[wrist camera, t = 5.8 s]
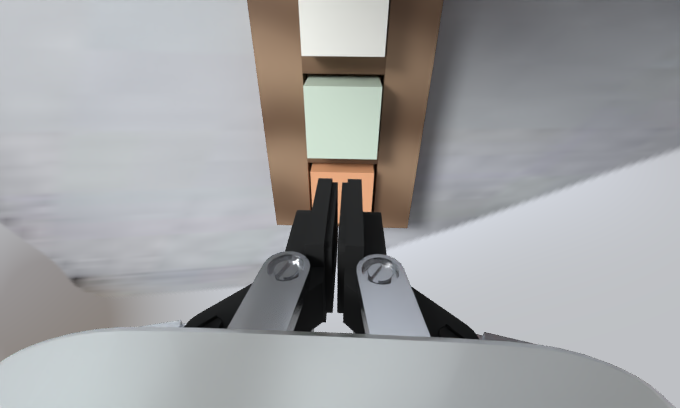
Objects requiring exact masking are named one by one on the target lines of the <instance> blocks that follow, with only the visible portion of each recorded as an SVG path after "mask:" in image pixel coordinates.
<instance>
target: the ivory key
mask: <svg viewBox="0 0 680 408" xmlns="http://www.w3.org/2000/svg"><path fill="white" fill-rule="evenodd" d="M298 4H299V21H300V39H301V56H352V57H385V47H386V34H387V21H388V8H389V0H298Z"/></svg>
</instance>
